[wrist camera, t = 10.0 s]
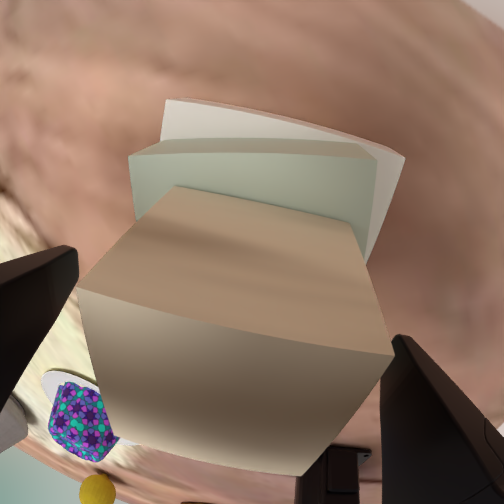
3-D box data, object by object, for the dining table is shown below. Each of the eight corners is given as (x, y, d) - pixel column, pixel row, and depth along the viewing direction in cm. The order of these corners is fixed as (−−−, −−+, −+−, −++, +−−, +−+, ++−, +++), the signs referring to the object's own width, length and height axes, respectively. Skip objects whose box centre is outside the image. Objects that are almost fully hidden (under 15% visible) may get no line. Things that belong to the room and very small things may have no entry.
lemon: (95, 474, 39) (80, 511, 32) (85, 461, 36) (67, 501, 29) (125, 485, 38) (111, 524, 31) (116, 473, 36) (100, 515, 29)
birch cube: (302, 348, 11) (301, 476, 7) (166, 319, 11) (114, 435, 7) (349, 222, 9) (394, 355, 4) (174, 185, 9) (75, 286, 4)
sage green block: (336, 305, 14) (343, 354, 11) (181, 295, 15) (159, 339, 12) (356, 143, 11) (377, 160, 8) (164, 139, 11) (127, 156, 9)
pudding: (158, 406, 24) (139, 457, 20) (141, 451, 30) (128, 488, 25) (39, 345, 23) (9, 385, 18) (50, 404, 29) (30, 437, 24)
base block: (327, 303, 17) (330, 341, 15) (168, 264, 18) (147, 295, 15) (385, 144, 13) (405, 158, 11) (190, 96, 13) (166, 99, 11)
